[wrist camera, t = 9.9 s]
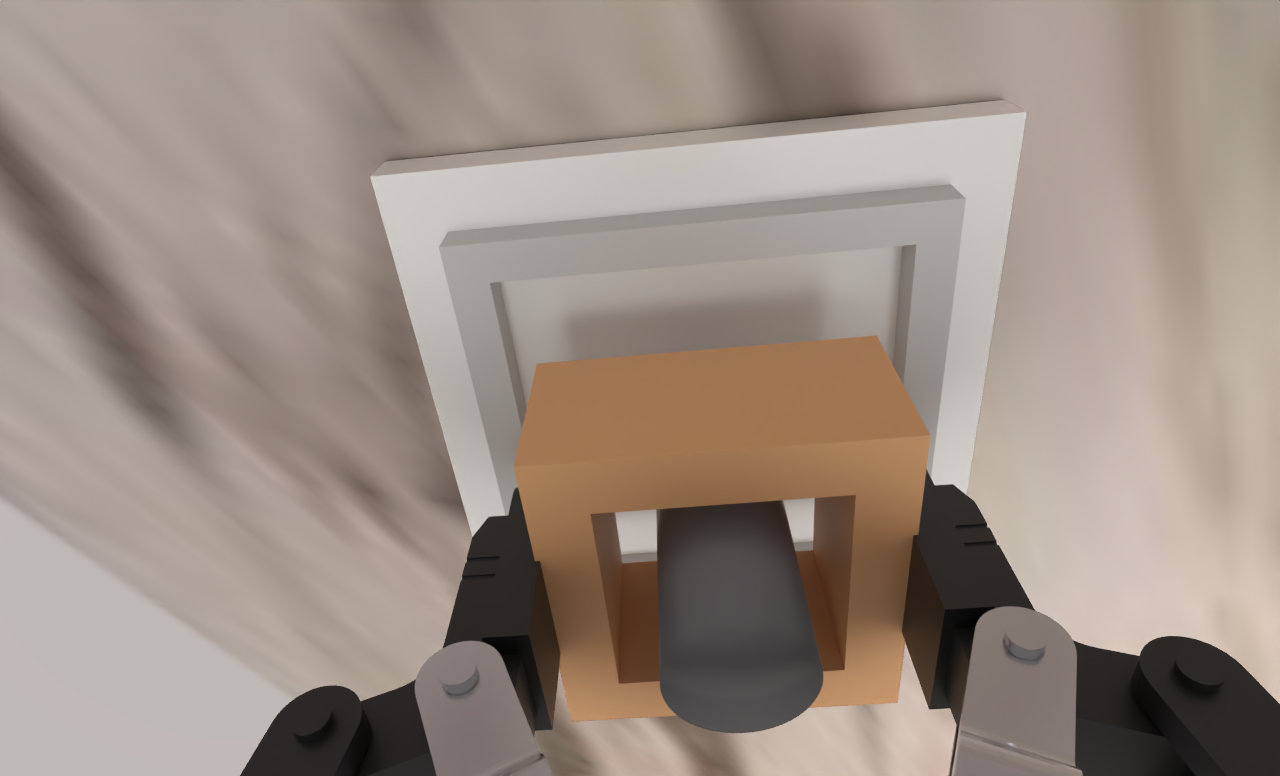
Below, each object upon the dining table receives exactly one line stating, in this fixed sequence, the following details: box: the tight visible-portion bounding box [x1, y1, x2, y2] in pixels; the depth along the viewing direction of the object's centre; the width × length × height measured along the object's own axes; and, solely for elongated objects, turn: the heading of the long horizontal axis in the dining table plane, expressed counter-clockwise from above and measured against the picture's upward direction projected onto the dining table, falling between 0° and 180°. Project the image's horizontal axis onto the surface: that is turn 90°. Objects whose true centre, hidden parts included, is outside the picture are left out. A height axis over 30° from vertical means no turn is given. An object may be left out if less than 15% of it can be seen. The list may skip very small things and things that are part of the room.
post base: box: [370, 100, 1027, 733], centre depth 15 cm, size 12×12×8 cm
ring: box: [514, 336, 931, 722], centre depth 14 cm, size 6×6×3 cm
